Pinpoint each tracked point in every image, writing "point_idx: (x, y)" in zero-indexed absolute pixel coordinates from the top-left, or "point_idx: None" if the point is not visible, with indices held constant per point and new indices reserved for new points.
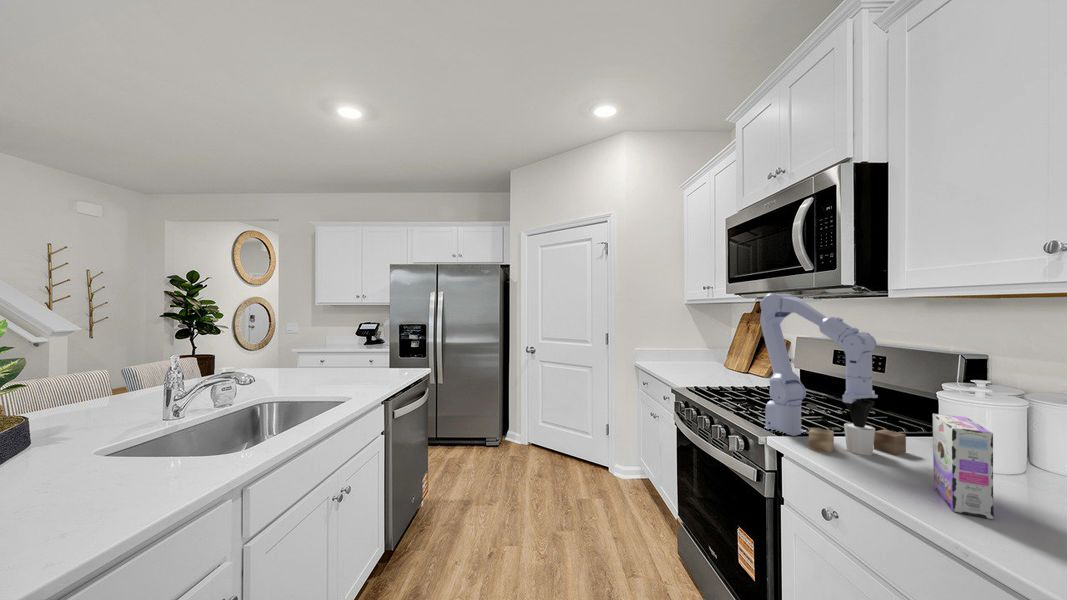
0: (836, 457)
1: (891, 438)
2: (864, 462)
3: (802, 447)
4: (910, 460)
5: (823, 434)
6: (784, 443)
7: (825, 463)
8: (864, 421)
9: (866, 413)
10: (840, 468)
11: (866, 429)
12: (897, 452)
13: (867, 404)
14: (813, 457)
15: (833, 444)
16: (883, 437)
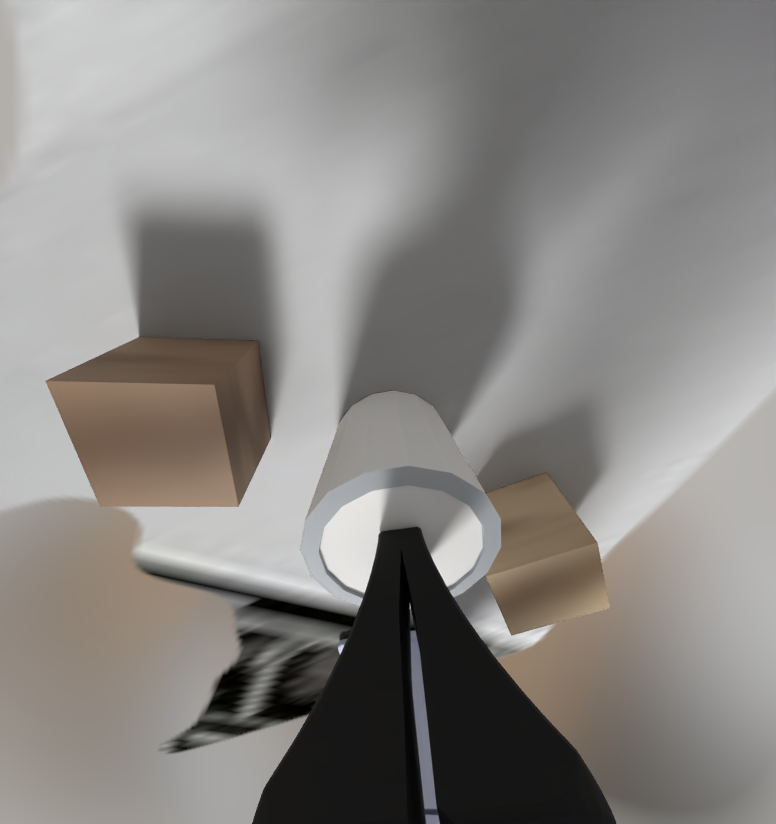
0: (592, 431)
1: (226, 395)
2: (560, 336)
3: None
4: (265, 241)
5: (599, 561)
6: None
7: (734, 402)
8: (419, 562)
9: (400, 640)
10: (768, 334)
11: (452, 489)
12: (223, 343)
13: (584, 805)
14: (678, 465)
15: None
16: (236, 438)
